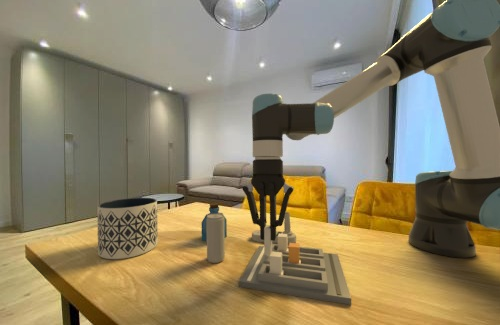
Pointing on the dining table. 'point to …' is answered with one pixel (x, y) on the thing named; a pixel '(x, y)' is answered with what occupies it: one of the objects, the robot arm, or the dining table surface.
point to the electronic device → (287, 231)
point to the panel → (299, 275)
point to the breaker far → (282, 242)
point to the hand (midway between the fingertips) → (268, 252)
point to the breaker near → (276, 263)
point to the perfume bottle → (213, 210)
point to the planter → (127, 227)
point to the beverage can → (215, 238)
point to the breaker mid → (294, 253)
